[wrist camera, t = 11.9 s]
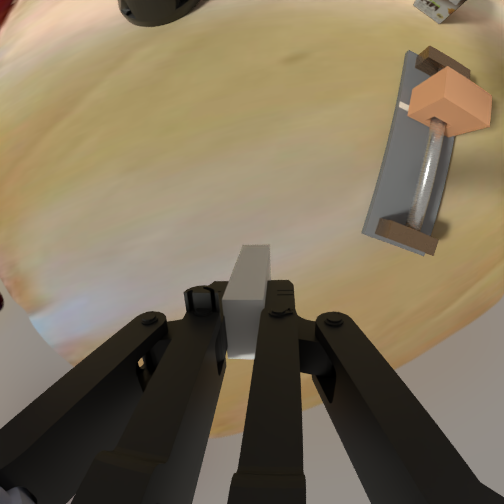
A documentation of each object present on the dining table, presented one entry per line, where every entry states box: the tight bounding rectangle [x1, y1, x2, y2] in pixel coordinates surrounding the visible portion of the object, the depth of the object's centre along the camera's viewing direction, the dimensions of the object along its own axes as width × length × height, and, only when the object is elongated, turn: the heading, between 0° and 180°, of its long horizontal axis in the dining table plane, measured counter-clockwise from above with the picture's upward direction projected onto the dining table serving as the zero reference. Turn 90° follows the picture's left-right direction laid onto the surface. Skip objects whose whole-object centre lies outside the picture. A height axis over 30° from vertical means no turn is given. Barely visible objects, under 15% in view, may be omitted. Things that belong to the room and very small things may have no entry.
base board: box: [362, 50, 454, 256], centre depth 41 cm, size 32×11×2 cm, turn 163°
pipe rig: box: [375, 46, 470, 256], centre depth 38 cm, size 31×8×5 cm, turn 163°
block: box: [407, 66, 492, 137], centre depth 33 cm, size 5×8×11 cm, turn 73°
